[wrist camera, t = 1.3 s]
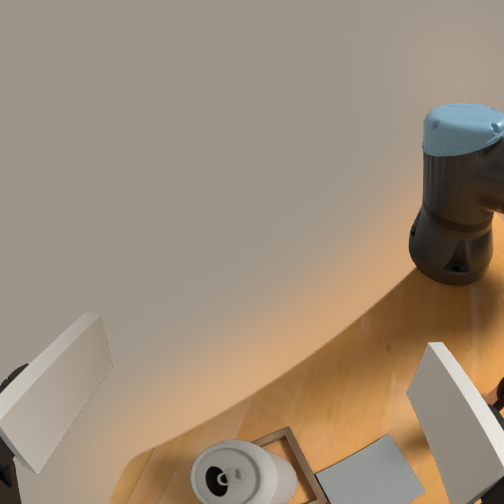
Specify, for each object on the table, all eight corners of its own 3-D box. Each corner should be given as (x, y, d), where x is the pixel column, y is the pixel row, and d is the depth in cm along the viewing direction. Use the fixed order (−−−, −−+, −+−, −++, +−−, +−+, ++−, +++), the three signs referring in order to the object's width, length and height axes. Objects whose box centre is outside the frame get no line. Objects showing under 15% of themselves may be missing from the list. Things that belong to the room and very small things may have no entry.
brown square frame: (290, 427, 29) (288, 426, 28) (328, 501, 21) (327, 501, 20) (210, 459, 28) (206, 458, 28) (238, 532, 20) (235, 533, 20)
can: (226, 464, 27) (173, 448, 20) (285, 444, 28) (254, 423, 20) (244, 517, 22) (194, 526, 14) (308, 498, 22) (287, 504, 14)
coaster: (388, 434, 25) (388, 433, 24) (424, 491, 18) (425, 491, 17) (315, 474, 24) (315, 474, 24) (349, 534, 17) (349, 535, 17)
